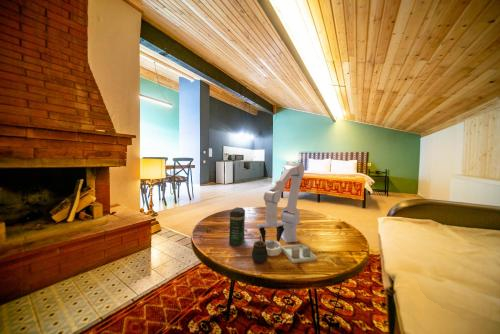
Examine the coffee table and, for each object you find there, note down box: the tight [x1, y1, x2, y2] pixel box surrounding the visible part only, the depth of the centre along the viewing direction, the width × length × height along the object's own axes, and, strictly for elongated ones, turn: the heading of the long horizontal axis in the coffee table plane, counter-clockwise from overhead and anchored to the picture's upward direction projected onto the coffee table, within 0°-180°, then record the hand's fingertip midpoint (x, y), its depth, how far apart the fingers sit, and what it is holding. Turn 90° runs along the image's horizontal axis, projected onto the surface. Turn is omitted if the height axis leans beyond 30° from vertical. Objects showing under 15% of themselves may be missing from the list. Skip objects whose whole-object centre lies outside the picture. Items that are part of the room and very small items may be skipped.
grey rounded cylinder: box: [267, 239, 276, 249], centre depth 93 cm, size 4×4×4 cm
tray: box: [282, 243, 318, 264], centre depth 90 cm, size 13×12×2 cm
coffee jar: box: [228, 207, 246, 246], centre depth 102 cm, size 10×8×19 cm
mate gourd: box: [251, 235, 269, 264], centre depth 84 cm, size 7×8×10 cm
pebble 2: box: [302, 245, 312, 258], centre depth 88 cm, size 4×4×4 cm
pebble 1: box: [292, 247, 300, 259], centre depth 86 cm, size 4×4×4 cm
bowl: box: [265, 239, 283, 257], centre depth 94 cm, size 10×10×3 cm
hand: (270, 241), depth 94 cm, fingers open, 7 cm apart
